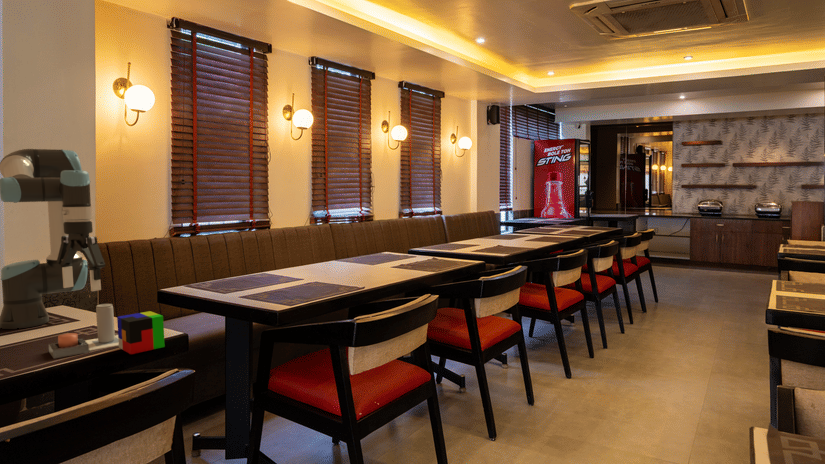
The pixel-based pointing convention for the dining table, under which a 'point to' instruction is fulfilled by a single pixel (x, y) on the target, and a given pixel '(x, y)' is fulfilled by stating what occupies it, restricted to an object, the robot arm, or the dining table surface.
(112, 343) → the white flat block
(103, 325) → the beverage can
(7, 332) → the dining table surface
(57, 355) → the button collar
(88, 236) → the robot arm
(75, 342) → the button
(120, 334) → the puzzle toy
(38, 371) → the dining table surface
